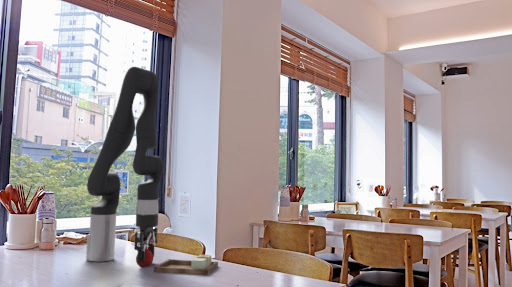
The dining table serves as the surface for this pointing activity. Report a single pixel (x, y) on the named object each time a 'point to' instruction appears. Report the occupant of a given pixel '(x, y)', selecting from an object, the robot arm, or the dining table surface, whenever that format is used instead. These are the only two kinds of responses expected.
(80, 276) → the dining table surface
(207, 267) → the oak block
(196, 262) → the sage block
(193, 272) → the tray
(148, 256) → the onion
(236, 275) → the dining table surface
